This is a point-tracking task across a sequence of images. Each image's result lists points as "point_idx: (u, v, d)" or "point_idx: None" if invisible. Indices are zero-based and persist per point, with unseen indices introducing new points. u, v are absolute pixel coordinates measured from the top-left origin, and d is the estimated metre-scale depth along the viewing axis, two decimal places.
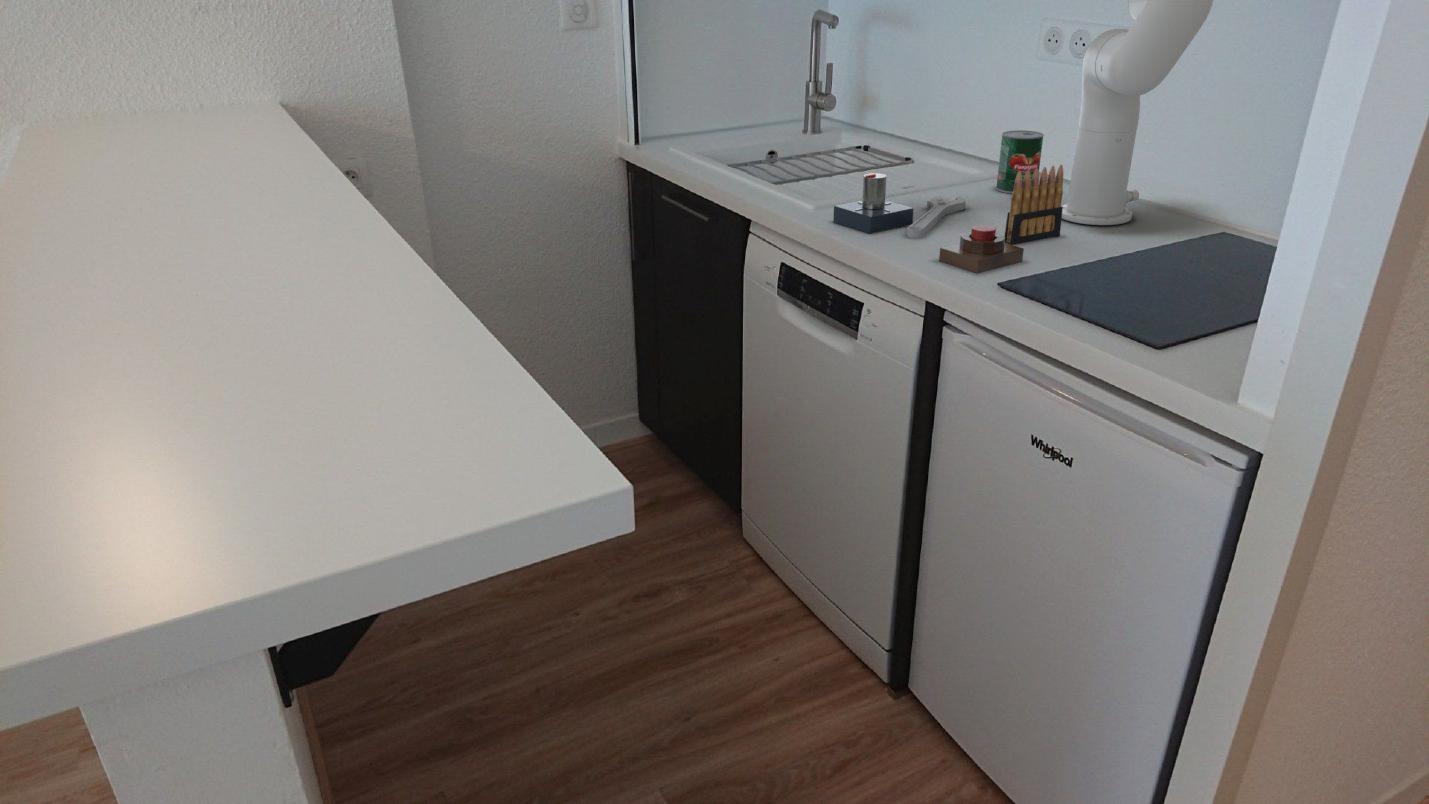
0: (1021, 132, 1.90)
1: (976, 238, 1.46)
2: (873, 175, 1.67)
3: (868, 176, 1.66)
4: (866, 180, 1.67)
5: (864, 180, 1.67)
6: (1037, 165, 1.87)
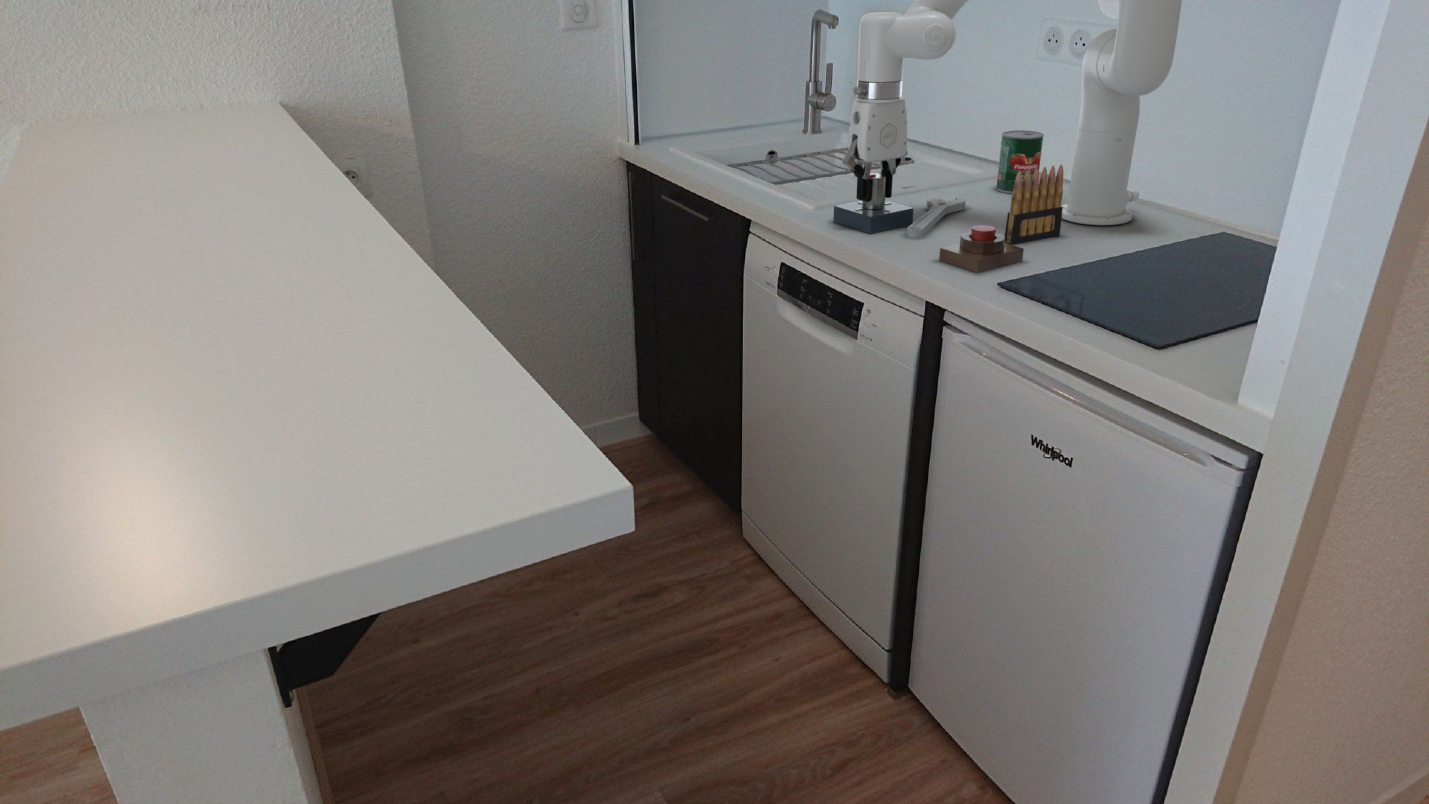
0: (1021, 132, 1.90)
1: (976, 238, 1.46)
2: (873, 175, 1.67)
3: None
4: None
5: None
6: (1037, 165, 1.87)
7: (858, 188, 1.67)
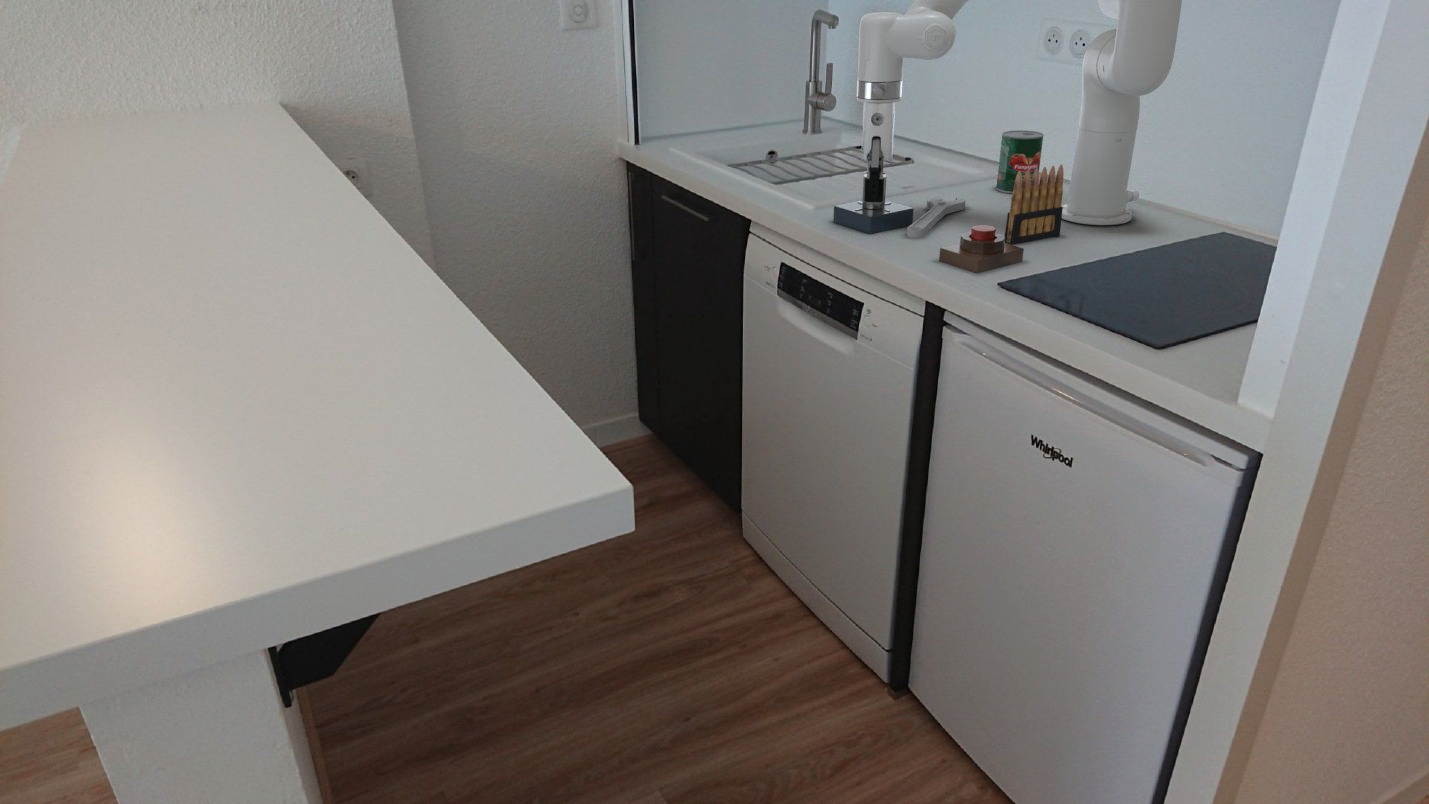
0: (1021, 132, 1.90)
1: (976, 238, 1.46)
2: None
3: None
4: None
5: None
6: (1037, 165, 1.87)
7: (871, 191, 1.65)
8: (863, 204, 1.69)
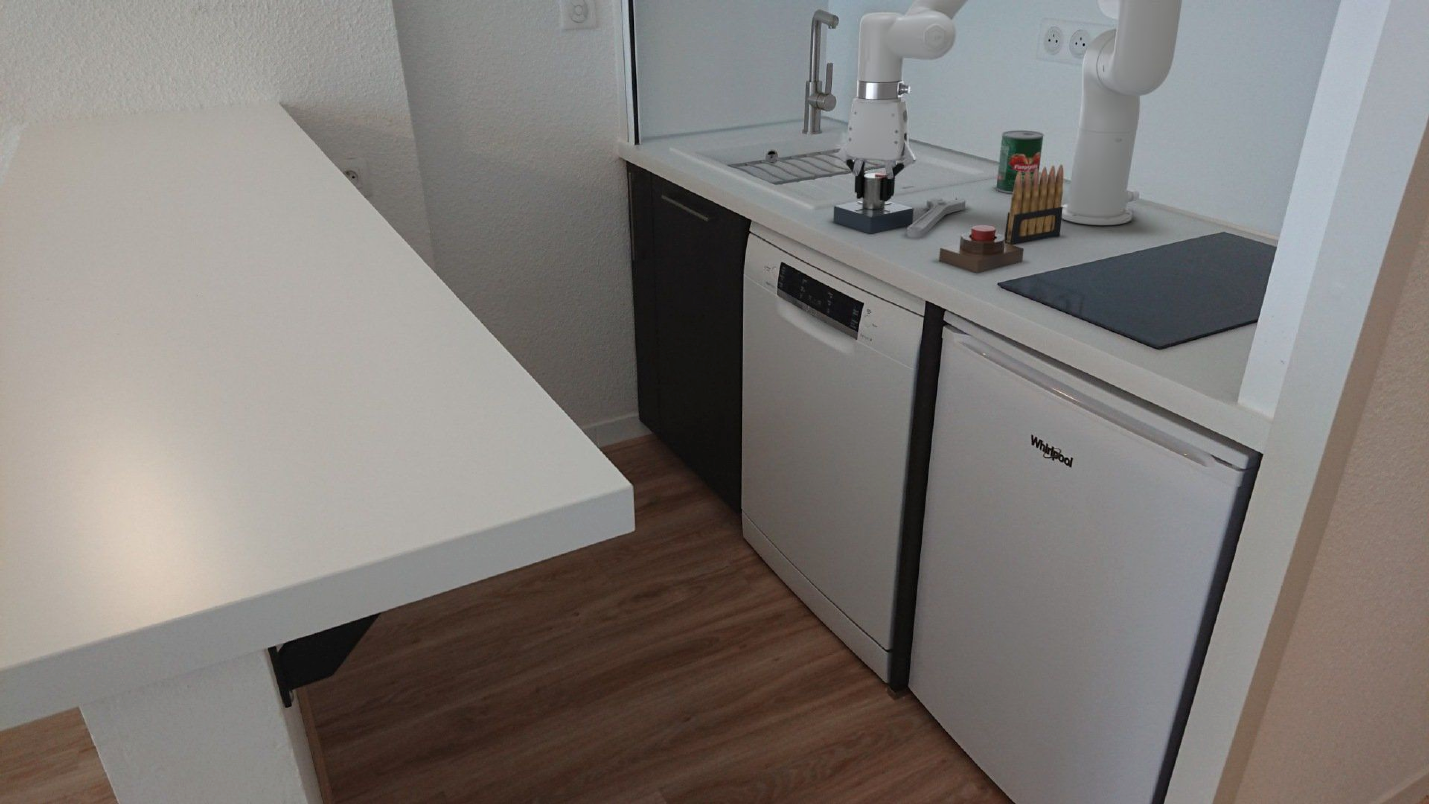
0: (1021, 132, 1.90)
1: (976, 238, 1.46)
2: None
3: None
4: None
5: None
6: (1037, 165, 1.87)
7: (892, 188, 1.66)
8: (875, 206, 1.68)
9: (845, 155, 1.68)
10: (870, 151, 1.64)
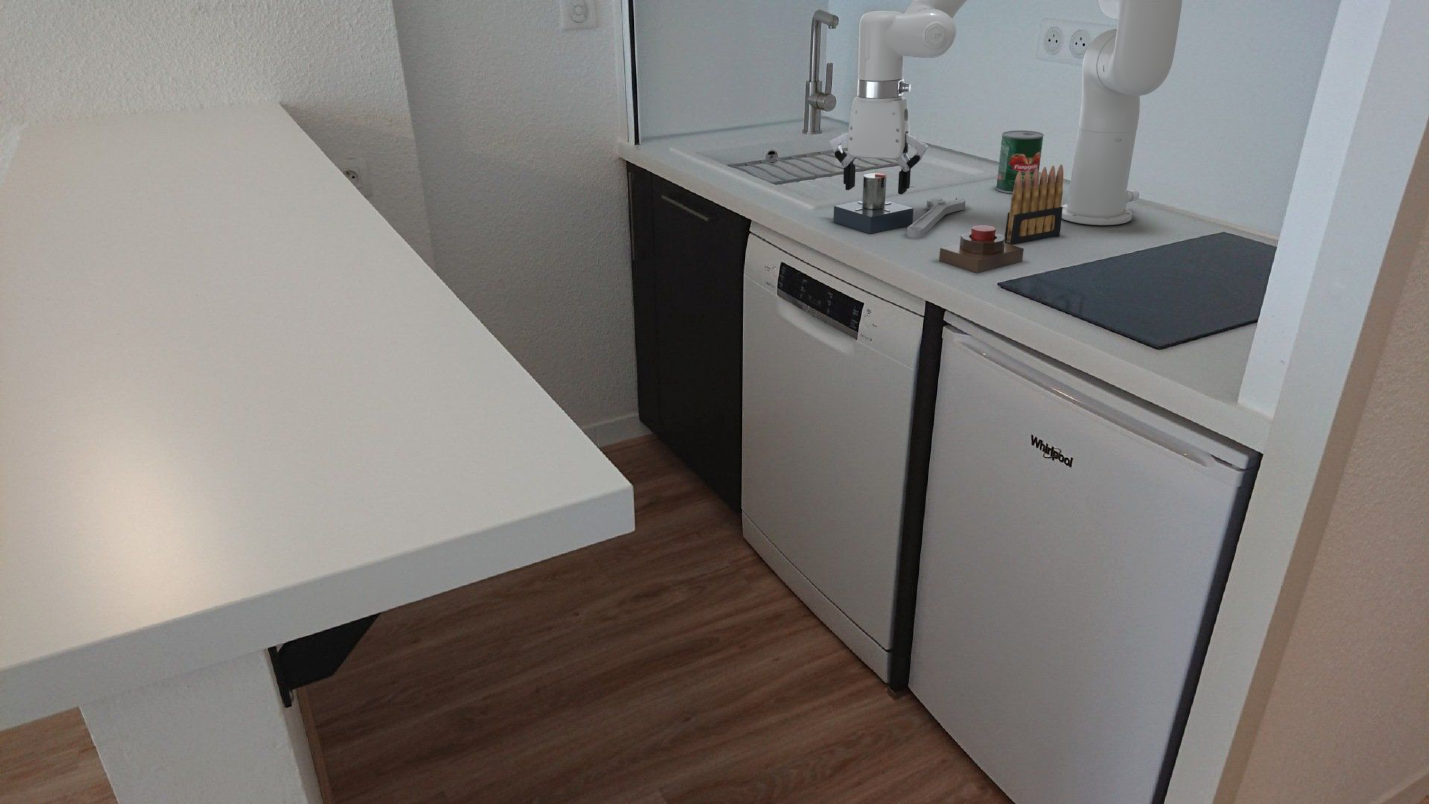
0: (1021, 132, 1.90)
1: (976, 238, 1.46)
2: None
3: (885, 175, 1.67)
4: (885, 179, 1.67)
5: (884, 181, 1.66)
6: (1037, 165, 1.87)
7: (908, 181, 1.65)
8: (875, 206, 1.68)
9: (837, 145, 1.68)
10: (871, 150, 1.64)
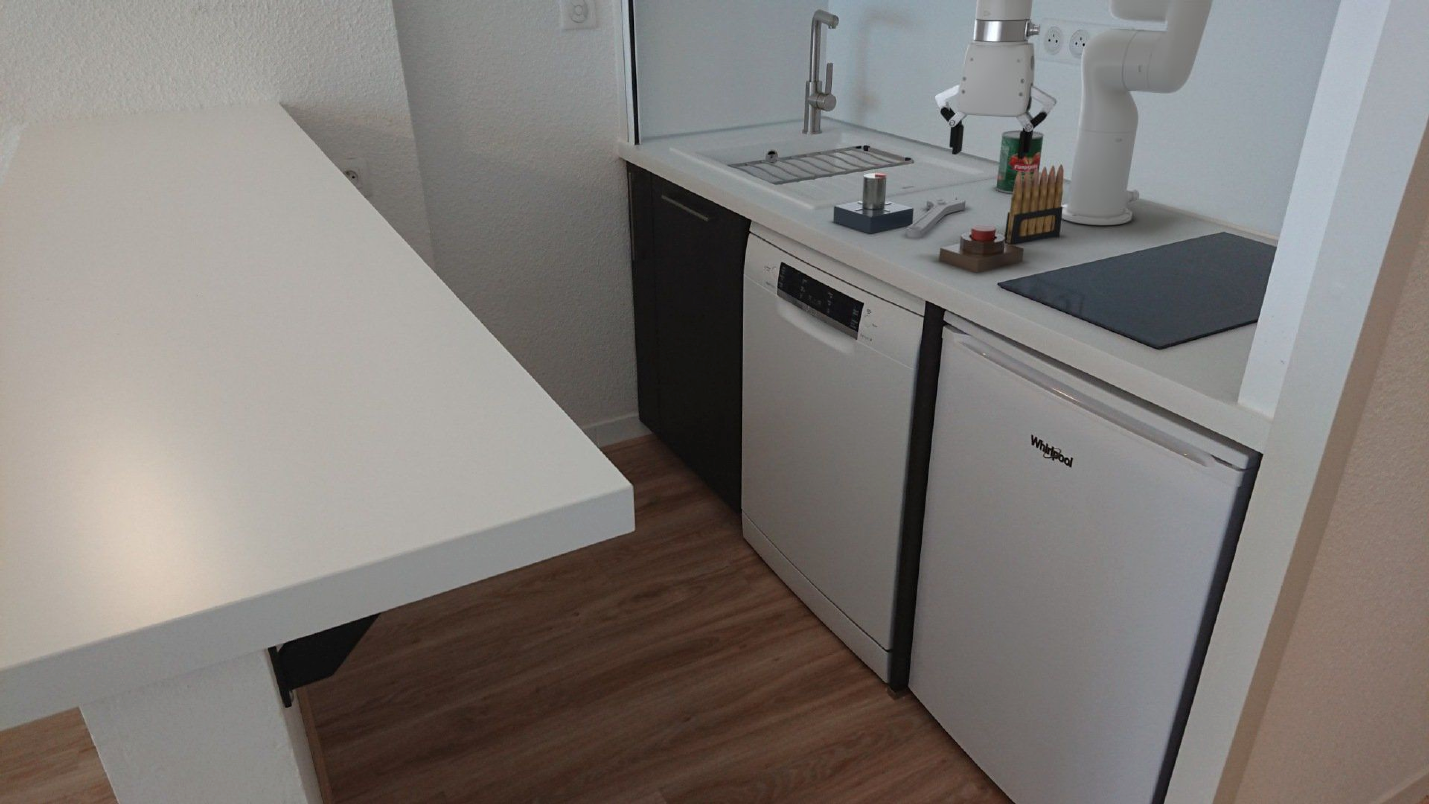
0: None
1: (976, 238, 1.46)
2: None
3: (885, 175, 1.67)
4: (885, 179, 1.67)
5: (884, 181, 1.66)
6: (1037, 165, 1.87)
7: (1030, 144, 1.39)
8: (875, 206, 1.68)
9: (944, 101, 1.42)
10: (988, 105, 1.38)
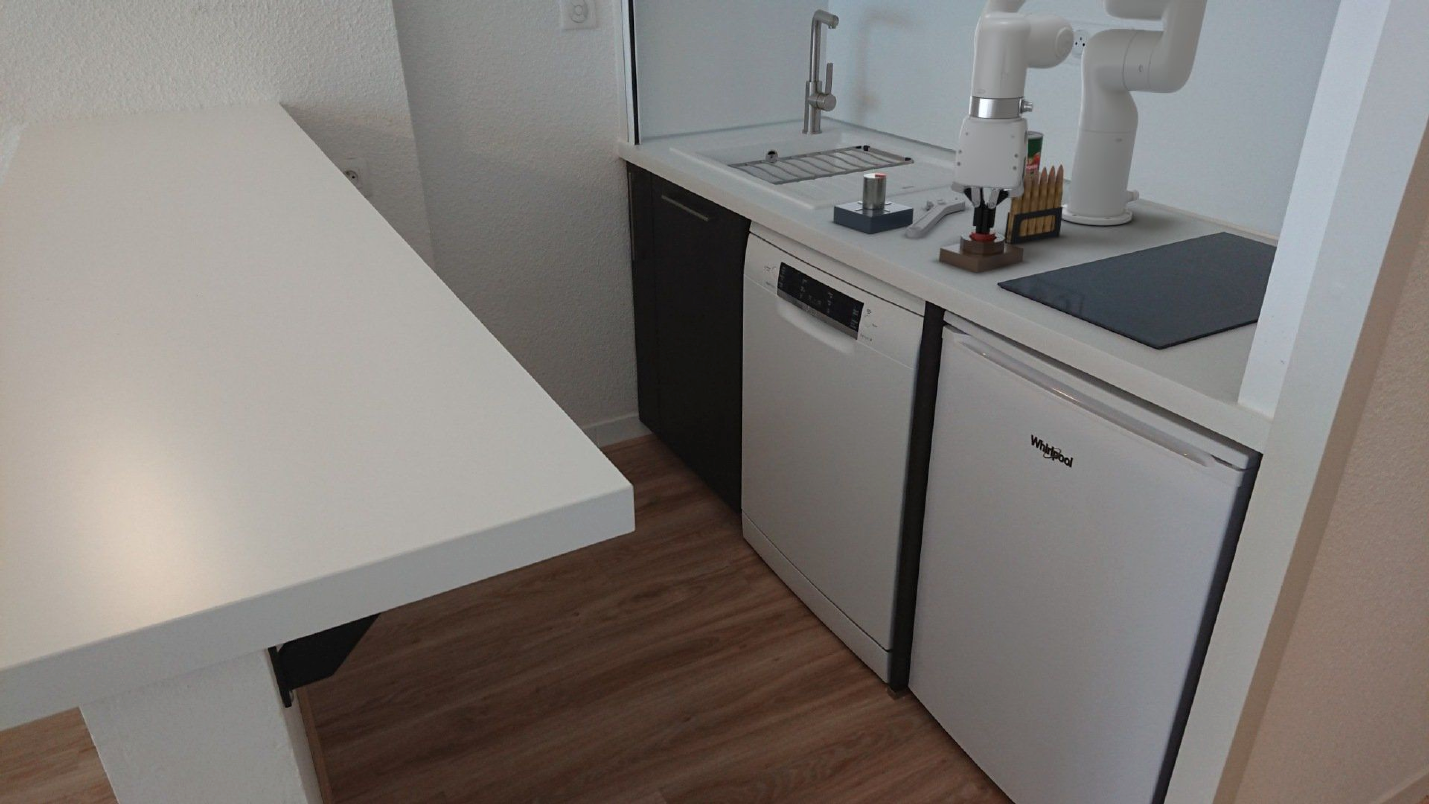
0: None
1: None
2: None
3: (885, 175, 1.67)
4: (885, 179, 1.67)
5: (884, 181, 1.66)
6: (1037, 165, 1.87)
7: (993, 219, 1.45)
8: (875, 206, 1.68)
9: (961, 185, 1.45)
10: (983, 178, 1.42)
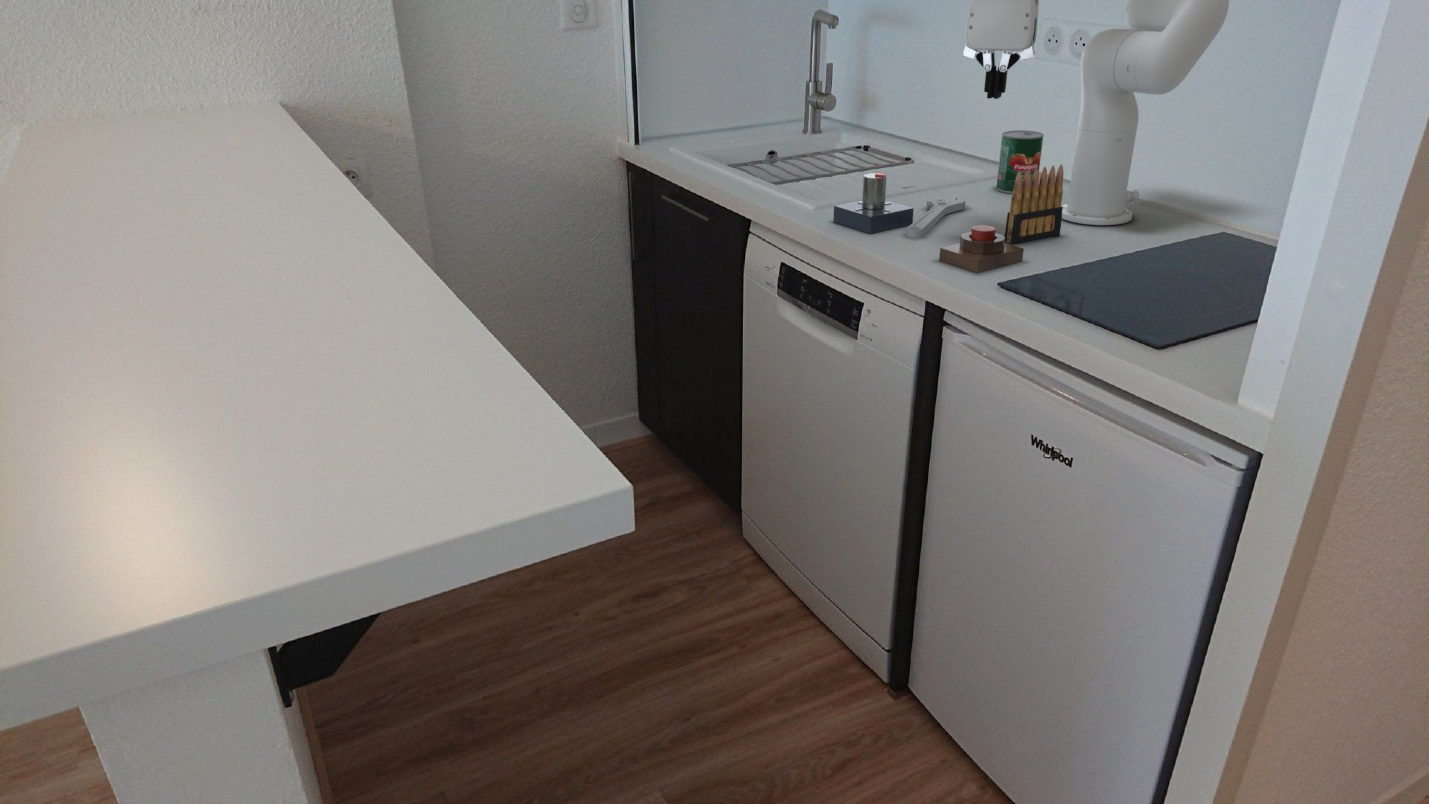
0: (1021, 132, 1.90)
1: (976, 238, 1.46)
2: None
3: (885, 175, 1.67)
4: (885, 179, 1.67)
5: (884, 181, 1.66)
6: (1037, 165, 1.87)
7: (1004, 84, 1.48)
8: (875, 206, 1.68)
9: (972, 50, 1.48)
10: (994, 40, 1.45)
